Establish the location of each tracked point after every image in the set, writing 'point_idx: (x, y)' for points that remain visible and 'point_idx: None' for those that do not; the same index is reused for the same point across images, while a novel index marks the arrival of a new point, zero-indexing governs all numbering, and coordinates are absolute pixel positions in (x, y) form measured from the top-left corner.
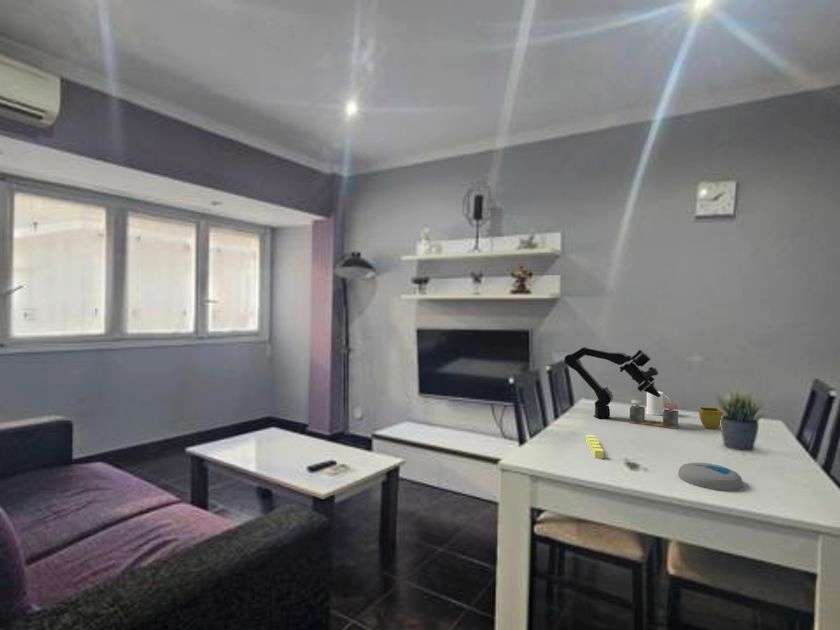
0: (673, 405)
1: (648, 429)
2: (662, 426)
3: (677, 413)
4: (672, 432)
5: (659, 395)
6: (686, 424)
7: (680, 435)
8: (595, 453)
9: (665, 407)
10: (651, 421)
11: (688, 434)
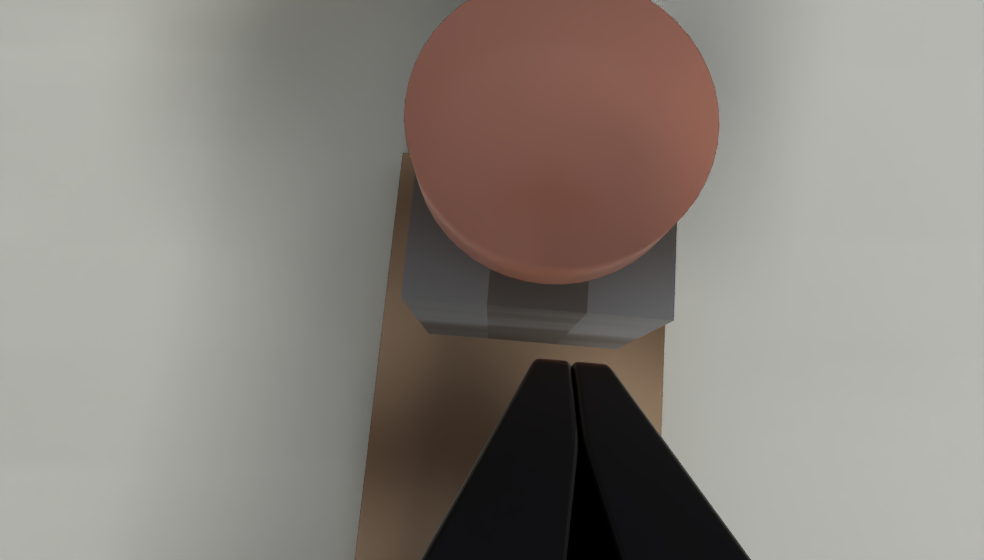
0: (694, 54)
1: (896, 543)
2: (660, 354)
3: None
4: (871, 230)
5: (616, 393)
6: (280, 65)
7: (974, 142)
8: None
9: (637, 257)
10: (433, 522)
11: (856, 57)
